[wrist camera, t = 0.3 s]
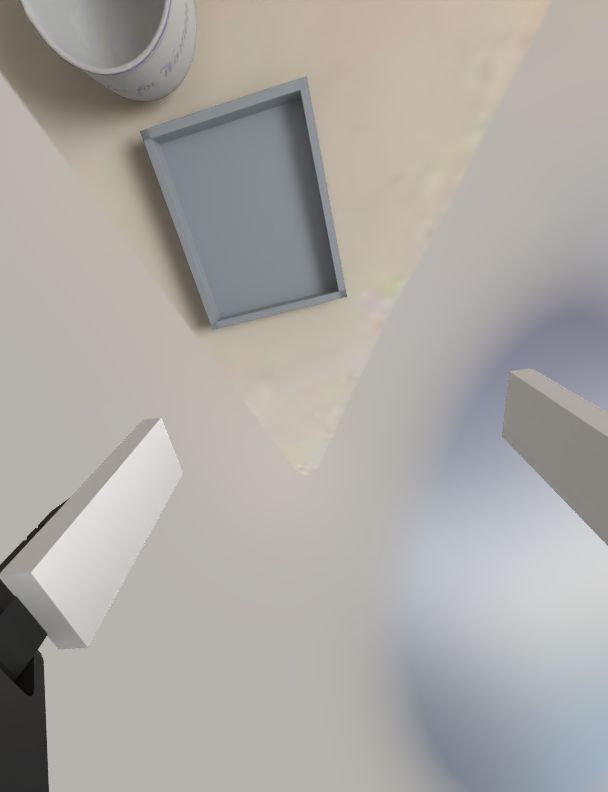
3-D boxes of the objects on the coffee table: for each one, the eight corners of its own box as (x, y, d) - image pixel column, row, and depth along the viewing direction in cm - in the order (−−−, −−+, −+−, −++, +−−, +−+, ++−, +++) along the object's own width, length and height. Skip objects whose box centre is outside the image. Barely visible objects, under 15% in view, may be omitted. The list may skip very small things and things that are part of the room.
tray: (152, 139, 31) (140, 131, 29) (307, 89, 29) (306, 76, 27) (218, 324, 38) (212, 329, 36) (344, 293, 36) (346, 296, 34)
